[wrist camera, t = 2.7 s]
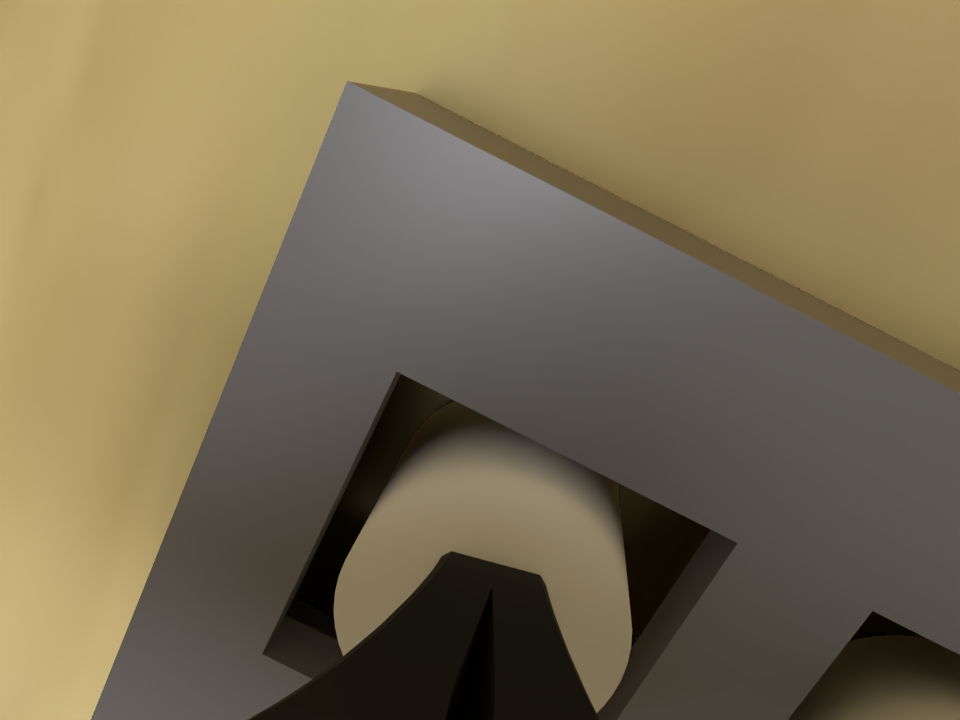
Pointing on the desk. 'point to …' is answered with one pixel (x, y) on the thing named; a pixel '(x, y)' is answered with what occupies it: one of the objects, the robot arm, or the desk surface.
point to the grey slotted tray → (554, 426)
